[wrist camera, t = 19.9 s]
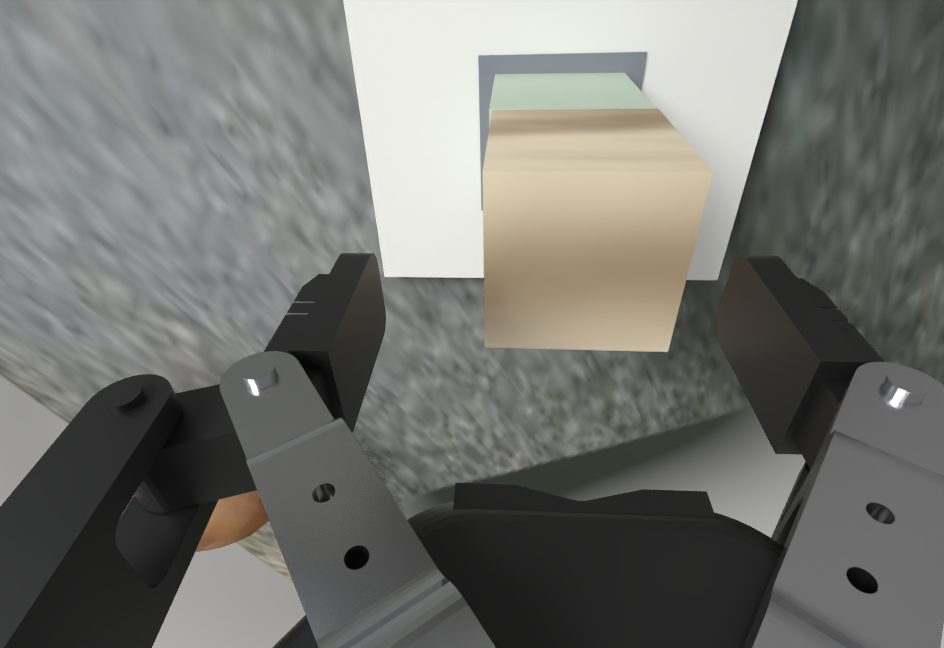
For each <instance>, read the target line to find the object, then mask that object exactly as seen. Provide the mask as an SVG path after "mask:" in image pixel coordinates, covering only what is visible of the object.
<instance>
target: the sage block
mask: <svg viewBox="0 0 944 648" xmlns="http://www.w3.org/2000/svg"><path fill="white" fill-rule="evenodd" d="M512 109H655V107H654V106H653V105H652V104H651V102H650V101H649V100H648V99H647V98H646V97H645V95H644V94H643V93H642V92H641V91H640V90H639V88H638V87H637V86H636V85H635V84H634V83H633V81H632V80H631V79H630V78H629V77H628V76H627V75H626V73H549V74H495V78H494V84H493V89H492V95H491V101H490V106H489V127H490V120H491V114H492V110H512Z"/></svg>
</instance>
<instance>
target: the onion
mask: <svg viewBox="0 0 944 648" xmlns="http://www.w3.org/2000/svg"><path fill="white" fill-rule="evenodd" d="M133 496H134V495H133ZM132 498H133V497H132ZM268 521H269V519H268V516H267V514H266V511H265V509H264V506H263V503H262V501H261V498H260V496H259V493H258V491H257V490H256V491H252V492H248V493H244V494H240V495H236V496H232V497H227V498H223V499H219V500H218V502H217V505H216V507H215V509H214V511H213V513H212V516H211V518H210V520H209V522H208V524H207V527H206V529H205V531H204V533H203V535H202V538H201V540H200V542H199V544H198V547H197V549H196V551H195V552H199V551H206V550H211V549H216V548H220V547H223V546H226V545H229V544H232V543H235V542H237V541H240V540H242V539H244V538H246V537H248V536H250V535H252V534H253V533H254V532H256V531H257V530H258V529H260V528H261V527H262V526H263V525H265V524H266V523H267V522H268Z"/></svg>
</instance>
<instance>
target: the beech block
mask: <svg viewBox="0 0 944 648" xmlns="http://www.w3.org/2000/svg"><path fill="white" fill-rule="evenodd" d="M713 173H714V171H713V170H712V169H711V168H710V167H709V166H708V165H707V163H706V162H705V161H704V160H703V159H702V158H701V157H700V156H699V154H698V153H697V152H696V151H695V150H694V149H693V148H692V146H691V145H690V144H689V143H688V142H687V141H686V140H685V138H684V137H683V136H682V135H681V134H680V133H679V132H678V130H677V129H676V128H675V127H674V126H673V125H672V124H671V122H670V121H669V120H668V119H667V118H666V117H665V116H664V114H663V113H662V112H661V111H660V110H659V109H658V108H657V109H512V110H492V114H491V120H490V127H489V133H488V140H487V146H486V153H485V159H484V166H483V250H484V336H485V347H495V348H534V349H573V350H612V351H651V352H668V350H669V346H670V342H671V338H672V334H673V330H674V326H675V322H676V318H677V314H678V310H679V306H680V302H681V299H682V295H683V291H684V287H685V283H686V279H687V275H688V271H689V267H690V263H691V259H692V255H693V251H694V247H695V244H696V240H697V236H698V232H699V228H700V224H701V220H702V216H703V212H704V208H705V204H706V200H707V196H708V192H709V189H710V185H711V181H712V177H713Z"/></svg>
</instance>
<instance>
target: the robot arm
mask: <svg viewBox="0 0 944 648" xmlns="http://www.w3.org/2000/svg"><path fill="white" fill-rule="evenodd" d="M294 301H295V303H293V304H292V305H291V307H290V309H289V310H288V315H285V317H284V319H283V320H282V322H281V324H280V325H279V327H278V329H277V330H276V332H275V334H274V335H273V337H272V339H271V340H270V342H269V344H268V345H267V347H266V349H265V350H264V352H261V353H257V354H254V355H251V356H248V357H246V358H244V359H242V360H240V361H238V362H237V363H235V364H234V365H232V366H231V367H230V368H229V369H228V370H227V371H226V372H225V373H224V375H223V377H222V378H221V381H220V384H218V385H214V386H210V387H205V388H200V389H195V390H190V391H186V392H181V393H176V394H175V392H174V390H173V388H172V386H171V385H170V383H169V381H168V380H167V379H165V378H164V377H161V376H158V375H150V374H146V375H137V376H132V377H129V378H125V379H122V380H120V381H117V382H115V383H113V384H111V385H109V386H107V387H105V388H104V389H102V390H101V391H99V392H98V393H97V394H95V395H94V396H93V397H92V398H91V399H90V400H89V401H88V402H87V403H86V404H85V406H84V407H83V408H82V409H81V410H80V412H79V413H78V414H77V415H76V416H75V418H74V419H73V420H72V421H71V422H70V424H69V425H68V426H67V427H66V429H65V430H64V431H63V432H62V433H61V434H60V436H59V437H58V438H57V439H56V440H55V442H54V443H53V444H52V445H51V446H50V448H49V449H48V450H47V451H46V452H45V454H44V455H43V456H42V457H41V459H40V460H39V461H38V462H37V463H36V465H35V466H34V467H33V468H32V469H31V471H30V472H29V473H28V474H27V475H26V477H25V478H24V479H23V480H22V481H21V483H20V484H19V485H18V486H17V488H16V489H15V490H14V491H13V492H12V493H11V495H10V496H9V497H8V498H7V499H6V501H5V502H4V503H3V504H2V506H1V507H0V648H152V646H153V644H154V642H155V639H156V637H157V635H158V633H159V631H160V628H161V626H162V624H163V622H164V619H165V617H166V615H167V613H168V611H169V608H170V606H171V604H172V602H173V599H174V597H175V595H176V593H177V591H178V588H179V586H180V584H181V582H182V580H183V577H184V575H185V573H186V571H187V569H188V566H189V564H190V562H191V560H192V558H193V555H194V553H195V551H196V549H197V547H198V544H199V542H200V540H201V538H202V535H203V533H204V531H205V529H206V527H207V524H208V522H209V520H210V518H211V516H212V513H213V511H214V509H215V507H216V505H217V502H218V500H219V499H223V498H227V497H232V496H236V495H240V494H244V493H248V492H252V491H256V490H257V491H258V493H259V496H260V498H261V501H262V503H263V506H264V509H265V511H266V514H267V516H268V519H269V521H270V524H271V527H272V529H273V532H274V534H275V537H276V539H277V542H278V545H279V547H280V550H281V552H282V555H283V557H284V560H285V563H286V565H287V568H288V570H289V573H290V575H291V578H292V581H293V583H294V586H295V588H296V591H297V593H298V596H299V598H300V601H301V604H302V606H303V609H304V611H305V614H306V615H305V616H304V617H303V618H302V619H301V620H300V621H299V622H298V623H297V624H296V625H295V626H294V627H293V628H292V629H291V630H290V631H289V632H288V633H287V634H286V635H285V636H284V637H283V638H282V639H281V640H280V641H279V642H278V643H277V644H276V645H275V646H274V647H273V648H940V645H941V638H942V631H943V624H944V386H943V385H942V384H941V383H939V382H938V381H936V380H935V379H933V378H932V377H930V376H928V375H926V374H924V373H922V372H920V371H918V370H915V369H913V368H910V367H907V366H903V365H900V364H895V363H889V362H884V360H883V359H882V358H881V357H880V356H879V355H878V354H877V352H876V351H875V350H874V349H873V348H872V347H871V346H870V344H869V343H868V342H867V341H866V340H865V339H864V338H863V336H862V335H861V334H860V333H859V332H858V331H857V330H856V328H855V327H854V326H853V325H852V324H851V323H848V319H847V318H846V317H845V316H844V315H843V313H842V312H841V311H840V310H837V307H836V305H835V304H834V303H833V302H832V301H831V300H830V299H829V297H828V296H827V295H826V294H825V293H824V292H823V291H821V290H820V289H818V288H816V287H815V286H813V285H812V284H810V283H808V282H807V281H805V280H803V279H797V278H796V276H795V275H794V274H793V273H792V272H791V270H790V269H789V268H788V267H787V265H786V264H785V263H784V262H783V261H782V259H781V258H780V257H778V256H739V257H738V258H737V259H736V260H735V261H734V263H733V266H732V269H731V272H730V275H729V279H728V282H727V285H726V288H725V291H724V295H723V298H722V301H721V304H720V307H719V311H718V314H717V319H716V332H717V338H718V341H719V343H720V345H721V347H722V349H723V351H724V353H725V355H726V357H727V359H728V361H729V363H730V365H731V367H732V369H733V371H734V373H735V375H736V377H737V378H738V380H739V382H740V384H741V386H742V388H743V390H744V392H745V394H746V396H747V398H748V400H749V402H750V404H751V406H752V408H753V410H754V412H755V414H756V416H757V418H758V420H759V422H760V424H761V426H762V428H763V430H764V432H765V434H766V436H767V438H768V440H769V441H770V444H771V446H772V447H773V449H774V451H775V453H776V454H802V455H803V457H804V459H805V461H806V462H805V464H804V466H803V468H802V469H801V471H800V473H799V475H798V477H797V480H796V482H795V484H794V486H793V489H792V491H791V493H790V496H789V498H788V500H787V503H786V505H785V507H784V509H783V512H782V514H781V516H780V519H779V521H778V523H777V526H776V528H775V530H774V532H773V535H772V537H771V538H770V537H768V536H766V535H765V534H763V533H761V532H760V531H758V530H756V529H754V528H752V527H750V526H748V525H746V524H744V523H742V522H740V521H737V520H735V519H732V518H729V517H727V516H724V515H721V514H718V513H714V512H713V509H712V506H711V503H710V500H709V497H708V494H707V492H701V491H699V492H698V491H673V490H638V491H633V492H628V493H623V494H618V495H613V496H608V497H604V498H599V499H594V500H589V501H576V500H571V499H567V498H563V497H560V496H556V495H552V494H548V493H544V492H540V491H537V490H533V489H529V488H525V487H521V486H518V485H498V484H471V483H456V485H455V495H454V502H450V503H446V504H442V505H439V506H436V507H432V508H430V509H427V510H425V511H423V512H421V513H419V514H417V515H415V516H413V517H411V518H410V519H408V520H407V519H406V518H405V516H404V514H403V513H402V511H401V510H400V508H399V507H398V505H397V503H396V502H395V500H394V499H393V497H392V495H391V494H390V492H389V491H388V489H387V488H386V486H385V484H384V483H383V481H382V480H381V478H380V477H379V475H378V473H377V472H376V470H375V469H374V467H373V465H372V464H371V462H370V461H369V459H368V458H367V456H366V454H365V453H364V451H363V450H362V448H361V447H360V445H359V443H358V442H357V440H356V439H355V437H354V435H353V434H352V433H353V430H354V426H355V423H356V420H357V417H358V414H359V411H360V408H361V405H362V402H363V399H364V395H365V392H366V389H367V386H368V383H369V380H370V377H371V374H372V371H373V368H374V364H375V361H376V358H377V355H378V352H379V349H380V346H381V343H382V340H383V337H384V332H385V324H386V314H385V305H384V299H383V293H382V287H381V280H380V274H379V268H378V262H377V258H376V256H375V254H373V253H342V254H340V256H339V257H338V259H337V261H336V263H335V265H334V267H333V268H332V270H331V272H330V274H319V275H317V276H316V277H315V278H313V279H312V280H311V281H309V282H308V283H307V284H305V285H304V286H303V287H302V289H301V290H300V292H299V294H298V295H297V297H296V299H295V300H294ZM133 495H134V496H133ZM132 497H133V498H132ZM131 499H132V500H131ZM130 500H131V501H130ZM129 502H130V503H129ZM128 504H129V505H128ZM127 505H128V506H127ZM126 507H127V508H126ZM125 509H126V510H125ZM124 510H125V511H124ZM123 512H124V513H123ZM122 513H123V514H122ZM121 515H122V516H121ZM120 517H121V518H120Z"/></svg>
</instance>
